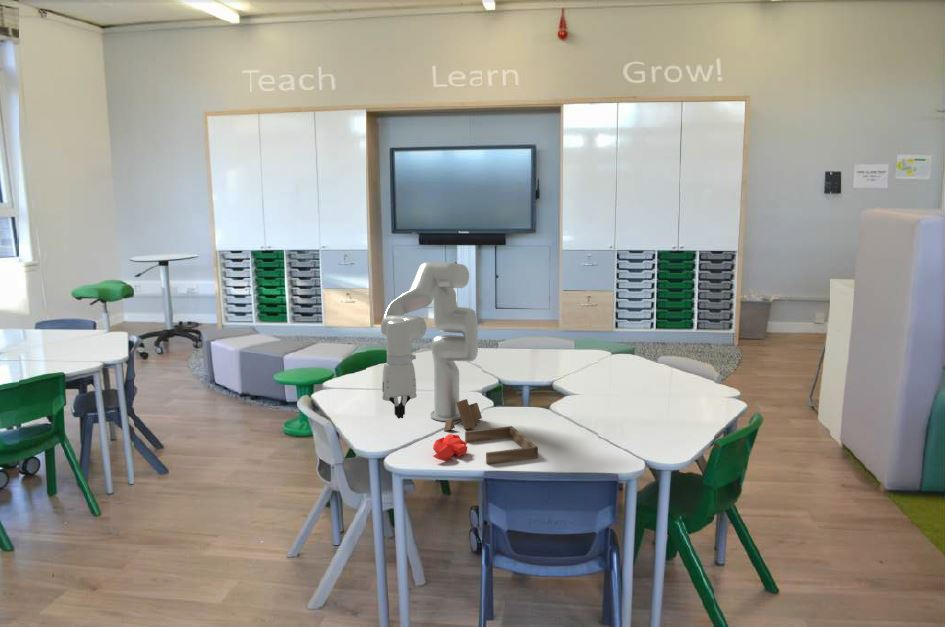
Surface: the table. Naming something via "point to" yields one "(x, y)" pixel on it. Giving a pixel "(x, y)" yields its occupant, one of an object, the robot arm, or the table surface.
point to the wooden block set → (465, 415)
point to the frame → (505, 455)
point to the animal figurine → (449, 447)
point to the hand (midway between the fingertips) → (399, 417)
